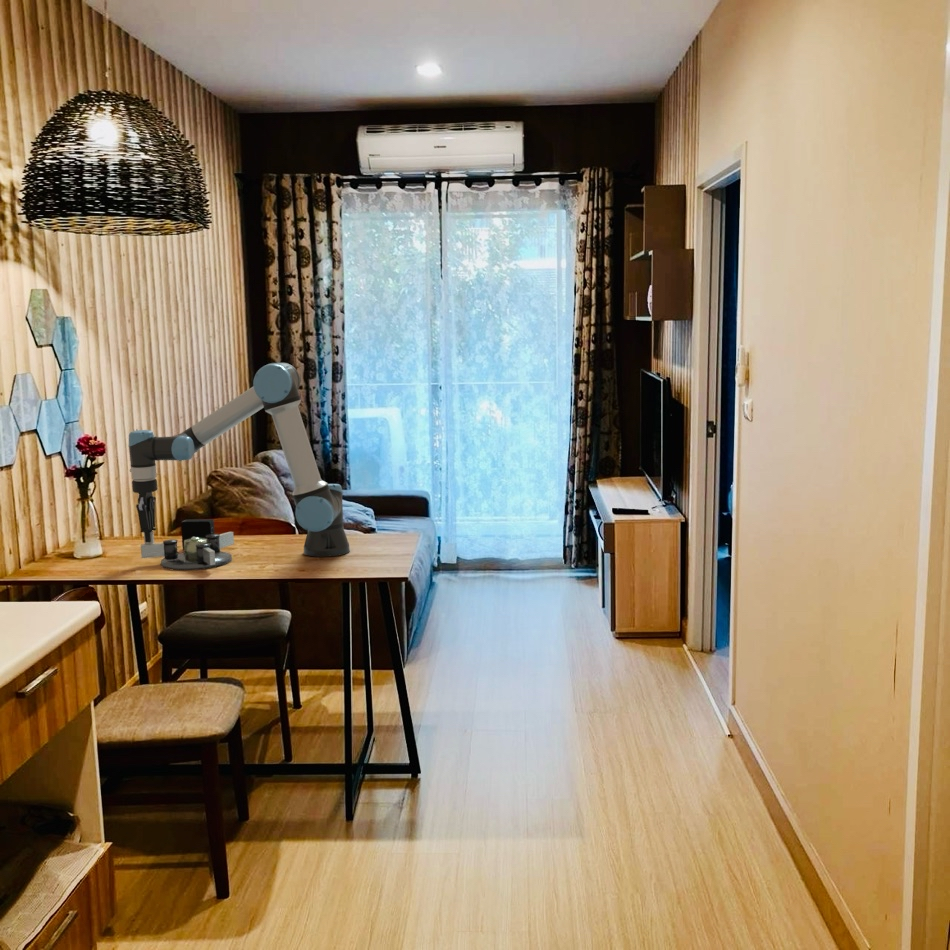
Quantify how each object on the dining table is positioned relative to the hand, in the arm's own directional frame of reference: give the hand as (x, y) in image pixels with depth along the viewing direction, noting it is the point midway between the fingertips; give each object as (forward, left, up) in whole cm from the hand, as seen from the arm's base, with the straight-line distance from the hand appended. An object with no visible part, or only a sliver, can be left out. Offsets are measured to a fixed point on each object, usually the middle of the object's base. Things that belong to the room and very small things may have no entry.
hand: (150, 551), depth 311 cm
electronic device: (0, -22, -4) cm, 23 cm away
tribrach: (-13, -7, -4) cm, 15 cm away
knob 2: (-23, -1, -2) cm, 23 cm away
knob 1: (-3, -1, -2) cm, 4 cm away
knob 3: (-13, -19, -2) cm, 23 cm away
